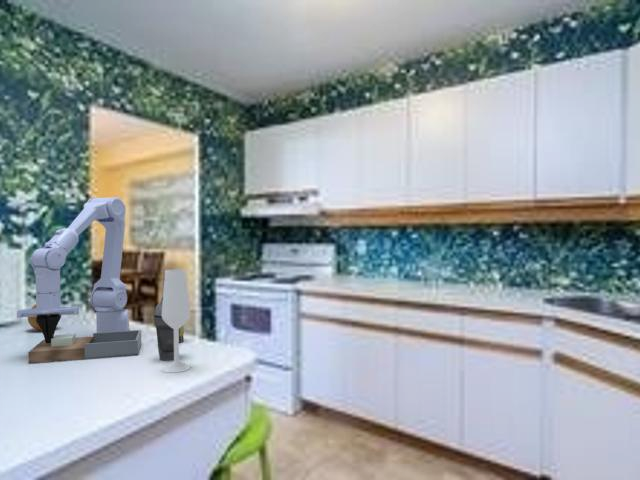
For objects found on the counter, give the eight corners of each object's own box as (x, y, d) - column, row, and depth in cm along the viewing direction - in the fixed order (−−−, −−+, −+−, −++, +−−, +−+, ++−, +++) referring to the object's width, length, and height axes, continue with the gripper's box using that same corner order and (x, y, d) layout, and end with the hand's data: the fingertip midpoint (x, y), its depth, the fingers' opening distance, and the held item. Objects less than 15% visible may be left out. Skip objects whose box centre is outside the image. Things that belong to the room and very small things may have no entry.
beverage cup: (174, 362, 120) (173, 284, 119) (148, 361, 121) (147, 284, 121) (187, 355, 127) (187, 281, 126) (163, 354, 128) (162, 280, 128)
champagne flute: (161, 366, 117) (160, 269, 116) (189, 363, 119) (188, 268, 119) (162, 373, 111) (161, 271, 110) (192, 370, 113) (190, 270, 112)
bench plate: (93, 346, 137) (93, 336, 137) (84, 359, 123) (84, 347, 123) (43, 350, 133) (43, 339, 133) (28, 363, 120) (28, 352, 120)
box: (141, 343, 141) (141, 330, 141) (137, 355, 127) (137, 340, 127) (93, 346, 137) (93, 333, 137) (84, 359, 123) (84, 344, 123)
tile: (75, 340, 131) (75, 333, 131) (72, 345, 127) (71, 337, 126) (55, 342, 130) (55, 335, 130) (51, 346, 125) (51, 339, 125)
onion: (29, 328, 163) (28, 300, 163) (62, 326, 167) (61, 298, 167) (25, 334, 154) (24, 303, 154) (59, 331, 158) (59, 301, 158)
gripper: (12, 295, 121) (13, 348, 121) (75, 293, 125) (75, 343, 125) (21, 292, 128) (22, 341, 128) (80, 289, 132) (81, 338, 132)
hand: (49, 342), depth 127 cm, fingers closed
